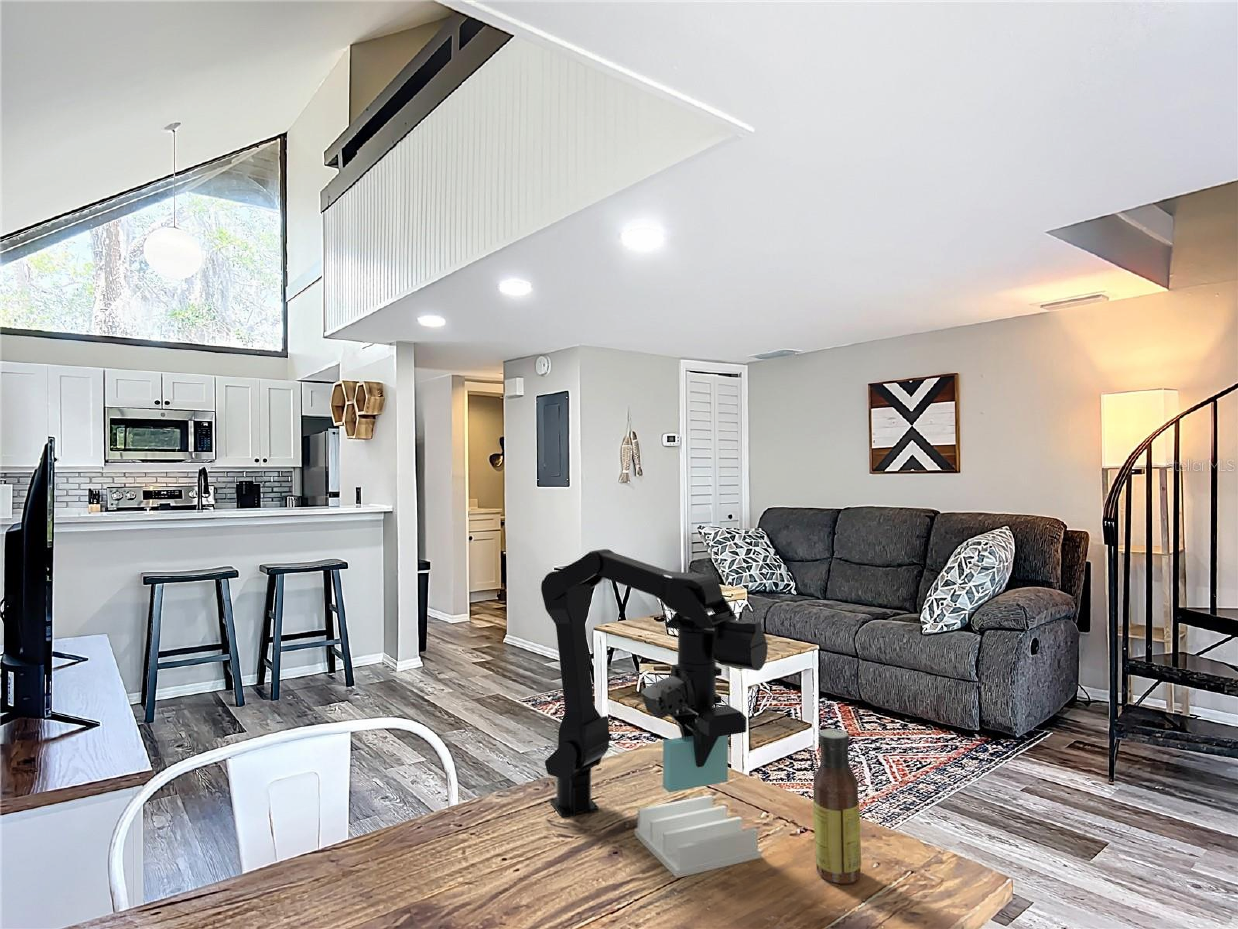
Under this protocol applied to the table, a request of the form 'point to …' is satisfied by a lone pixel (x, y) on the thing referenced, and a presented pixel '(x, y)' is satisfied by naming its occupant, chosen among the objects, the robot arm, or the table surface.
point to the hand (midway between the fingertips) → (696, 764)
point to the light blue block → (693, 764)
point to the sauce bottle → (836, 811)
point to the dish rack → (695, 836)
